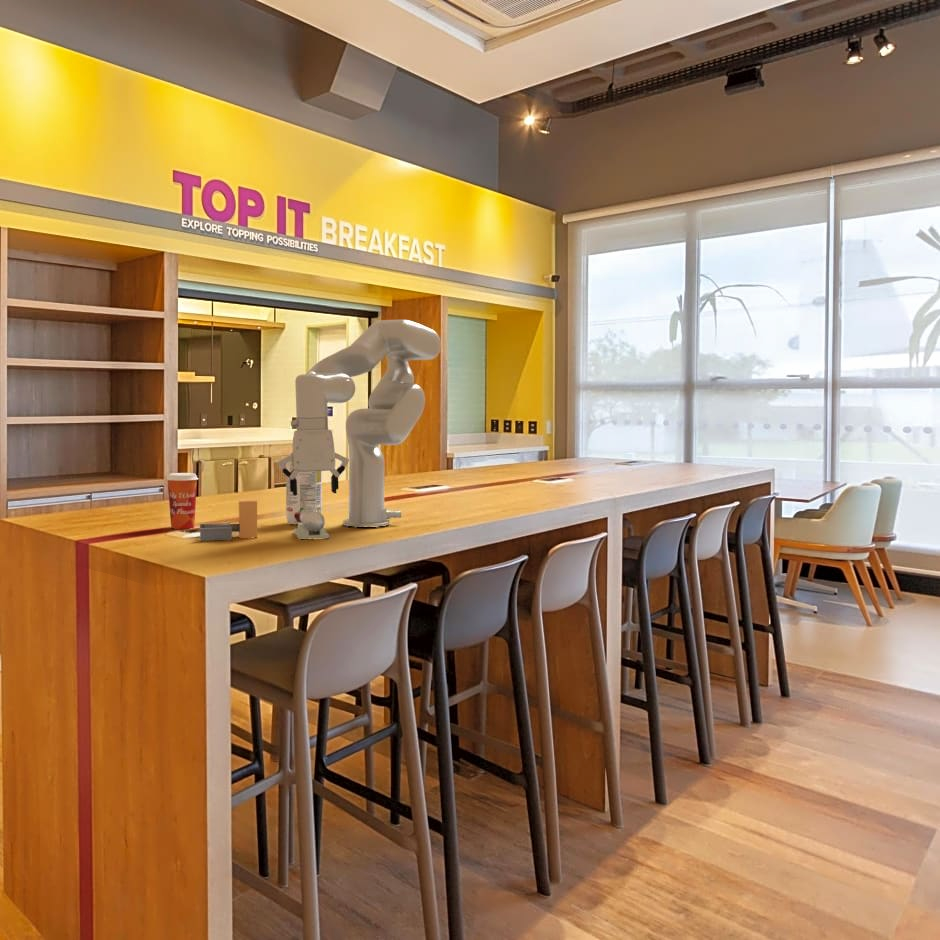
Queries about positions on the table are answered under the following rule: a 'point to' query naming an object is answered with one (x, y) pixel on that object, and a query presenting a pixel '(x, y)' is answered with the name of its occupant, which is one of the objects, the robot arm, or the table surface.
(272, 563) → the table surface
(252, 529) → the grey base tan upright
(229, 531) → the channel block
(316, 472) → the juice carton
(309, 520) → the axle
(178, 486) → the paper cup
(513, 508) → the table surface
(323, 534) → the cradle
